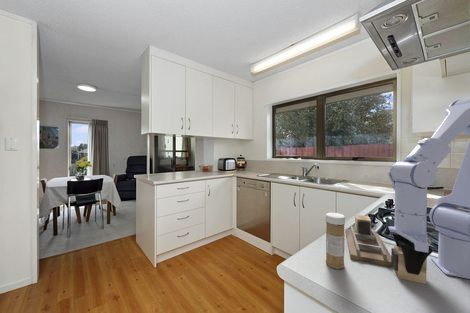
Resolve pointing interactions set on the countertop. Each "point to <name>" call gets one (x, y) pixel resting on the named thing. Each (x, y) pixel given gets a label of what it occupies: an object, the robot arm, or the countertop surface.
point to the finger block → (400, 268)
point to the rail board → (366, 243)
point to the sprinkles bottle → (335, 240)
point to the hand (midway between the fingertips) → (409, 267)
